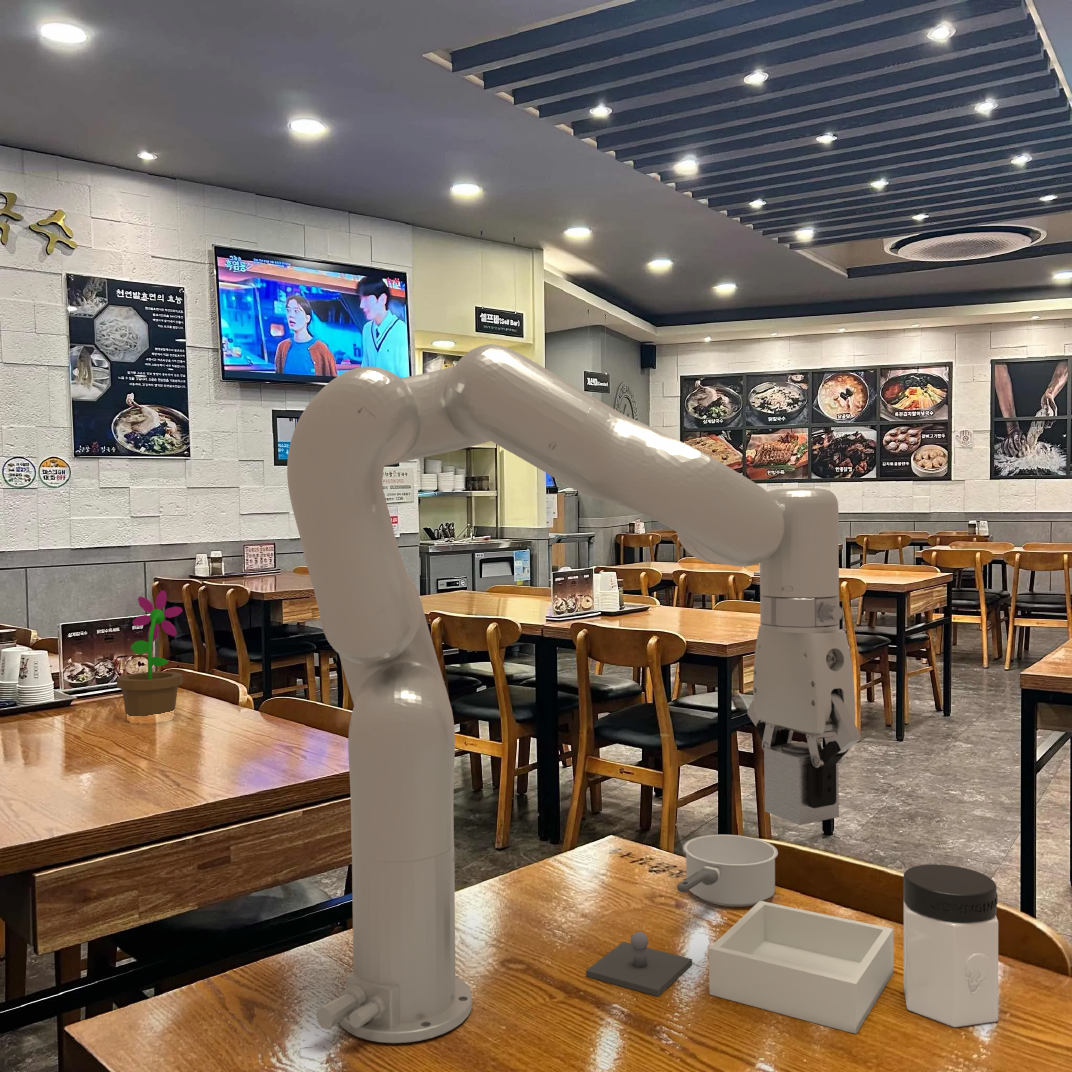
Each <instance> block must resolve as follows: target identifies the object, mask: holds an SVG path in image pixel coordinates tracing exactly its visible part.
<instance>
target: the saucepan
mask: <svg viewBox="0 0 1072 1072" xmlns="http://www.w3.org/2000/svg"><path fill="white" fill-rule="evenodd" d="M682 849H683V852H685V871H686V872H685V873H686V874H685V879H683V880H682V881H680V882H679V883H678V884H677V885H676V888H677V891H679V892H680V893H681V894H682V893H686V892H687V891H689V892H690V893H692V894H693V895H695V896H697V897H698V898H700V899H701V900H703V901H705V902H707V903H710V904H713V905H717V906H721V907H729V908H730V907H731V908H735V907H750V906H755V905H756V904H757V903H758V902H759V901H765V900H768V899H770V898H771V897H772V896H774V894H775V892H776V891H775V890H776V858H777V857H778V855H779V851H778V848H776V847H775V845H773V844H772V843H769V842H768V841H765V840H762V839H759V838H754V837H753V836H752V837H751V836H748V835H747V836H746V835H740V834H739V835H738V834H708V835H702V836H697V837H694V838H691V839H689V840H687V841H685V842H684V844H683V846H682Z"/></svg>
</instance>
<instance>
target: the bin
mask: <svg viewBox="0 0 1072 1072" xmlns="http://www.w3.org/2000/svg"><path fill="white" fill-rule="evenodd" d="M894 943H895V942H894V928H891V927H887V926H882V925H877V924H872V923H867V922H863V921H858V920H854V919H849V918H843V917H839V916H835V915H829V914H825V913H819V912H816V911H810V910H806V909H801V908H797V907H792V906H787V905H783V904H778V903H777V904H776V903H772V902H767V901H765V900H763V901H759V902H758V903H757V904H754V905H753V906H752V907H751V908H750V909H749V910H748V911H747V912H746V913H745V914H744V915H743V916H742V917H740V919H739V920H738V921H736V923H734V924H733V925H732V926H731V927H730V928H729V929H728V930H727V931H726V932H725V933H723V935H722V936H720V937H719V938H718V939H717V940H716V941H715V942H714V943H713V944H712V945H711V946H709V948H708V994H709V995H711V996H714V997H716V998H722V999H725V1000H728V1001H732V1002H737V1003H739V1004H744V1005H747V1006H751V1007H754V1008H759V1009H762V1010H766V1011H770V1012H771V1013H772V1012H773V1013H777V1014H781V1015H784V1016H788V1017H792V1018H796V1019H798V1020H799V1019H800V1020H803V1021H806V1022H809V1023H813V1024H817V1025H820V1026H825V1027H828V1028H833V1029H836V1030H839V1031H842V1032H846V1033H850V1034H855V1035H857V1034H858V1032H859V1030H860V1029H861V1027H862V1026H863V1024H864V1023H865V1021H866V1018H867V1017H868V1015H869V1014H870V1013H871V1011H872V1010H873V1007H874V1006H875V1004H876V1003H877V1001H878V999H879V997H880V996H881V994H882V992H883V991H884V990H885V988H886V986H887V984H888V983H889V981H890V979H891V978H892V977H893V975H894V969H895V968H894V964H895V962H894V959H895V958H894V954H895V953H894V950H895V949H894Z"/></svg>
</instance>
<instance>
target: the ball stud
mask: <svg viewBox="0 0 1072 1072" xmlns="http://www.w3.org/2000/svg"><path fill="white" fill-rule="evenodd" d="M648 946H649V937H648V936H647V934H646V933H644V932H643V931H637V932H635V933H633V934H632V935H631V938H630V943H629V942H626V941H622V942H621V943H619V944H618V945H617V946H616V947H614V948H613V949H612V950H611V951H609V952H608V953H606V954H605V955H604V956H603V957H601V958H600V959H598V960H597V961H596V962H595V963H593V964H592V965H591V966H590V967H588V968H587V969H586V970H585V976H586V977H587V978H591V979H594V980H598V981H601V982H605V983H609V984H612V985H616V986H619V987H623V988H626V989H629V990H632V991H637V992H641V993H644V994H647V995H652V996H655V997H659V996H661V994H662V993H664V992H665V991H666V990H667V989H669V987H670V986H671V985H673V983H675V982H676V980H677V979H679V978H680V977H681V976H682V975H683V974H684V973H685V972H686V971H687V970H688V969H689V968H691V966H693V959H692V958H690V957H687V956H682V955H677V954H674V953H669V952H667V951H661V950H658V949H654V948H649V947H648Z"/></svg>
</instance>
